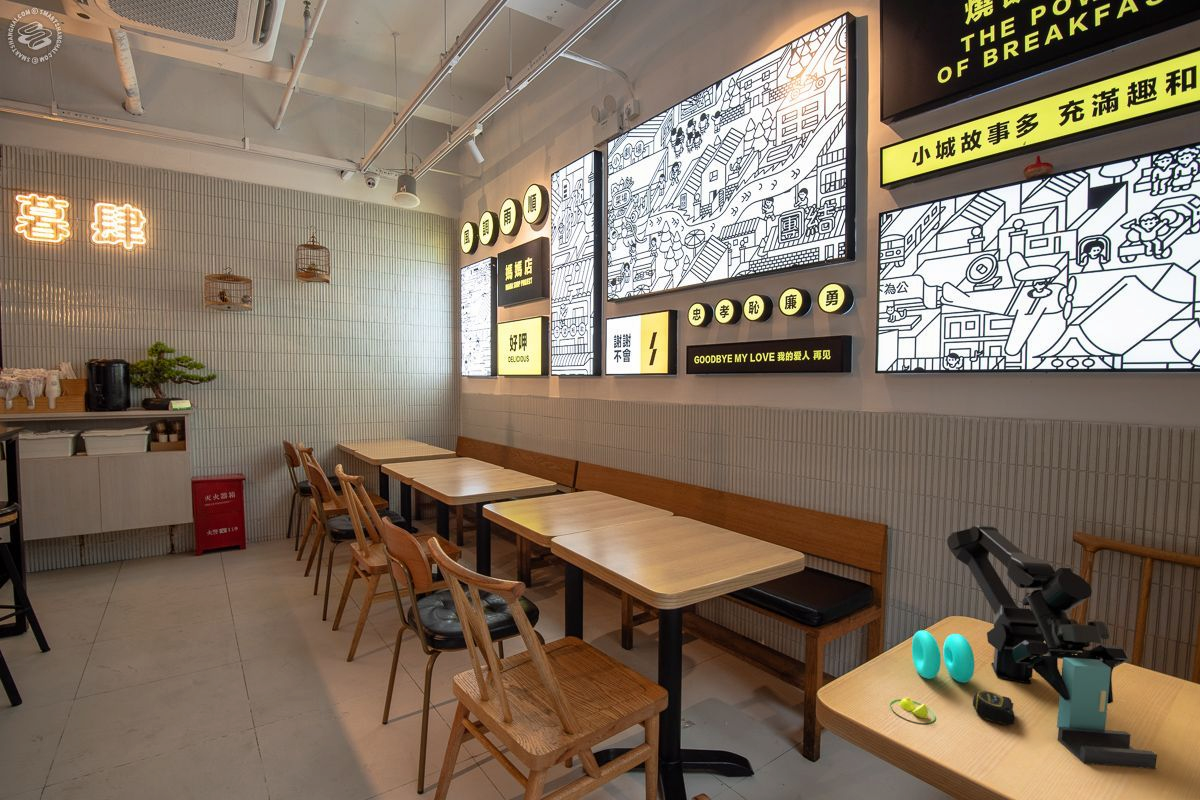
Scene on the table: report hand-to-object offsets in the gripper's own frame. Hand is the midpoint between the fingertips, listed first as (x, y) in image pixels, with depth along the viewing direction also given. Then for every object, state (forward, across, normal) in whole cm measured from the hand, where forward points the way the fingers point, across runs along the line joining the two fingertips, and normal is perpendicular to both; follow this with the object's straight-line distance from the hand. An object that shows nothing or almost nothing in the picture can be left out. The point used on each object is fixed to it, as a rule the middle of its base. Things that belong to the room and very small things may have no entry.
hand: (1089, 701), depth 110 cm
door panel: (+4, 0, +6) cm, 7 cm away
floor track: (+8, 0, +2) cm, 8 cm away
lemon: (+2, -30, +9) cm, 31 cm away
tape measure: (+2, -13, +9) cm, 16 cm away
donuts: (-8, -17, +19) cm, 27 cm away
